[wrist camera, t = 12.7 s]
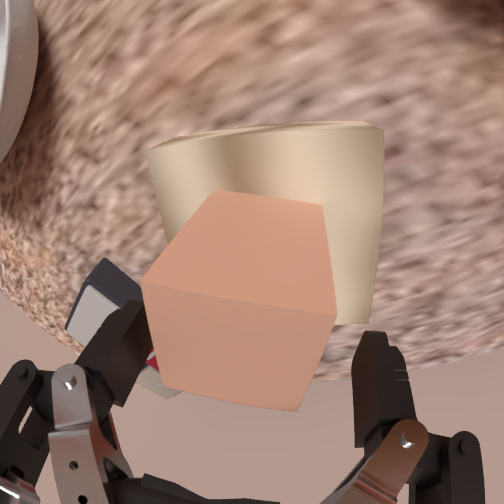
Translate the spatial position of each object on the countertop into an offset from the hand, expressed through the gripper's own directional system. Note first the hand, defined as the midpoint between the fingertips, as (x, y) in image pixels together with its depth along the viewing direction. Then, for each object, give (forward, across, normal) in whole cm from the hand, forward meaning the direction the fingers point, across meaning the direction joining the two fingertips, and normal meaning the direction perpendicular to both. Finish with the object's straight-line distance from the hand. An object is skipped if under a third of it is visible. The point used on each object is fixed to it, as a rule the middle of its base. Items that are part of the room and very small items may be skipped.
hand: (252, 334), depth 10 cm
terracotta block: (+6, 0, 0) cm, 7 cm away
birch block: (+12, 0, 0) cm, 12 cm away
